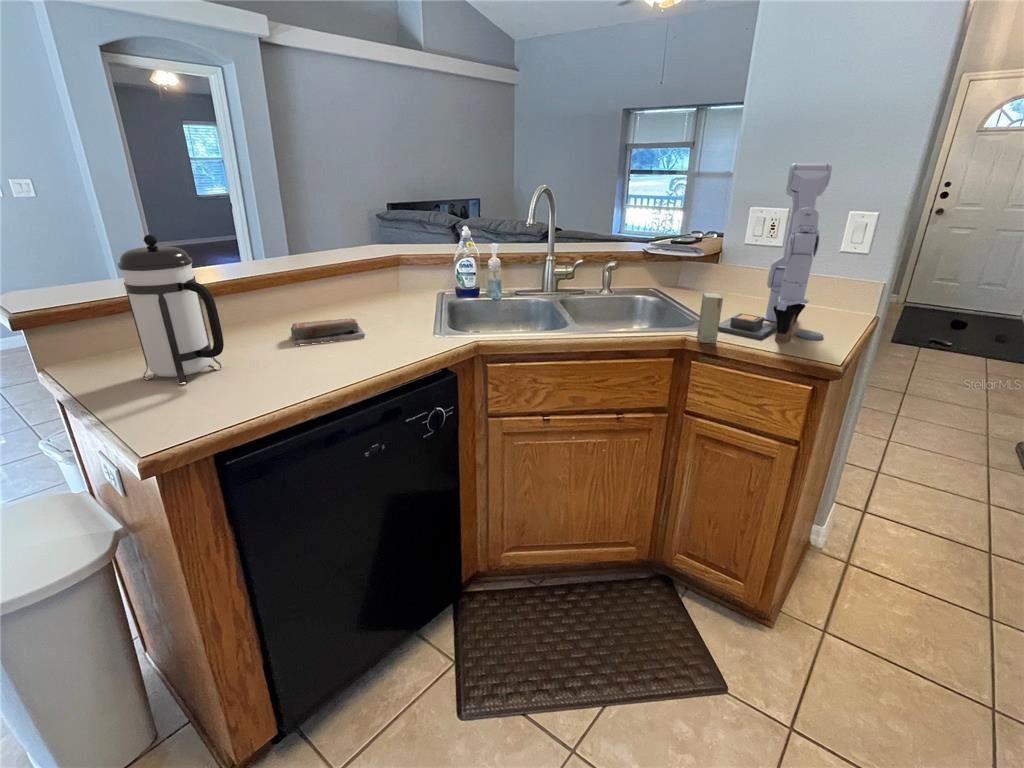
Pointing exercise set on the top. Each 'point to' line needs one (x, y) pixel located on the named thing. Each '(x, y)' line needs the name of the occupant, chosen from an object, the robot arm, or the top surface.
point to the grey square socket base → (747, 327)
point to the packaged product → (325, 331)
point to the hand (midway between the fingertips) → (784, 331)
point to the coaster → (809, 335)
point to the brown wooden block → (786, 336)
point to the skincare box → (709, 317)
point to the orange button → (748, 317)
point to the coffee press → (170, 310)
